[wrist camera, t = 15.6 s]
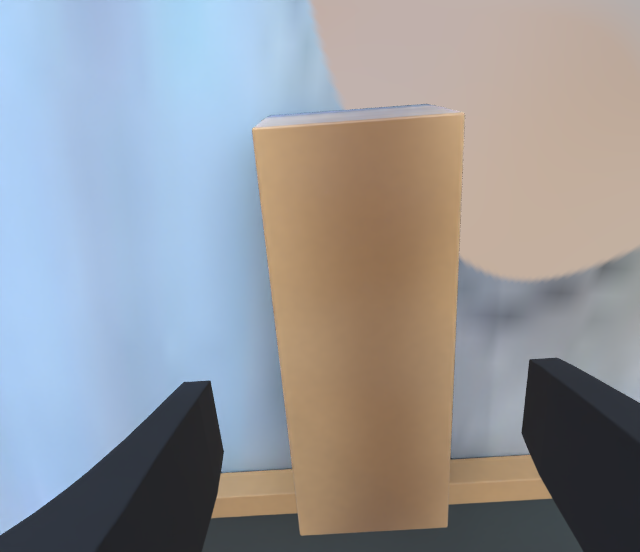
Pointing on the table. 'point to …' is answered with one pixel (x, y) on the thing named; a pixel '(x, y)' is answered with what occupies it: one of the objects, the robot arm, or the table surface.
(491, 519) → the slate board
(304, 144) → the eraser
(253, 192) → the table surface
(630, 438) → the robot arm
